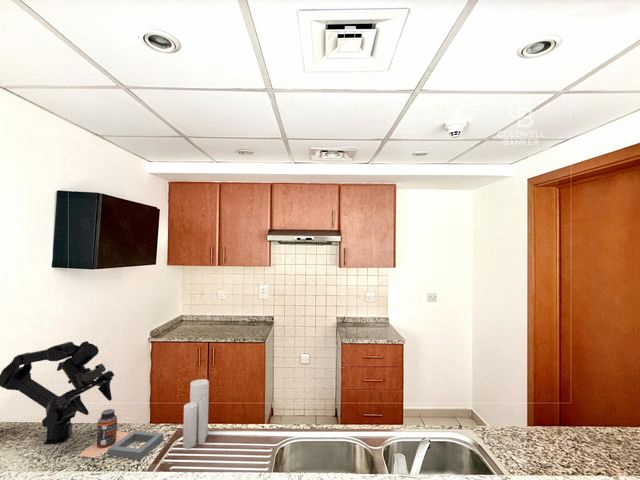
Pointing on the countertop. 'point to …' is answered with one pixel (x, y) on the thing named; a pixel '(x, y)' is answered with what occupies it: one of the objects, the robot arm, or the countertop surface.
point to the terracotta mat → (97, 450)
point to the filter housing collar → (135, 453)
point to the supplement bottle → (107, 428)
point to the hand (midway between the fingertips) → (99, 407)
